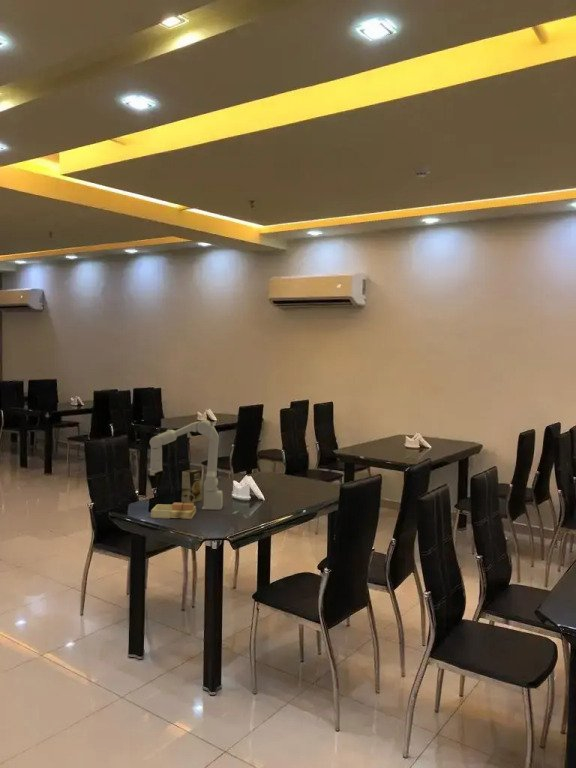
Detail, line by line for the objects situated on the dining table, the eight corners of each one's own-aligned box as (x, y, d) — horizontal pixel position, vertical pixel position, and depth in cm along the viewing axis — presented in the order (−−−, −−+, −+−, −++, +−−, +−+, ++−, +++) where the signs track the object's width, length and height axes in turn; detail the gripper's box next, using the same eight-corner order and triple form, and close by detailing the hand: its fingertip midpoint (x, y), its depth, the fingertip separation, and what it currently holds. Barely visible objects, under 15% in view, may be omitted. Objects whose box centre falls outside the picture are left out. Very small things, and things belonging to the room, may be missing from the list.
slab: (195, 512, 302) (196, 505, 301) (191, 518, 289) (191, 512, 288) (175, 511, 302) (175, 505, 302) (170, 518, 289) (170, 512, 289)
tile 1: (183, 507, 297) (183, 502, 297) (181, 510, 293) (181, 504, 293) (174, 507, 297) (174, 502, 297) (172, 509, 293) (172, 504, 293)
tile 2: (193, 508, 297) (193, 502, 297) (192, 510, 293) (192, 505, 293) (184, 507, 297) (184, 502, 297) (182, 510, 293) (182, 504, 293)
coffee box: (191, 503, 319) (191, 472, 318) (181, 502, 322) (181, 471, 322) (201, 500, 327) (202, 469, 326) (192, 498, 330) (192, 468, 330)
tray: (175, 511, 302) (175, 504, 301) (170, 518, 289) (170, 510, 289) (156, 511, 302) (157, 504, 301) (150, 518, 289) (150, 510, 289)
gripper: (152, 457, 317) (152, 483, 318) (143, 462, 303) (143, 489, 303) (166, 457, 317) (166, 484, 317) (158, 462, 302) (158, 490, 303)
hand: (156, 487), depth 310 cm, fingers open, 7 cm apart
